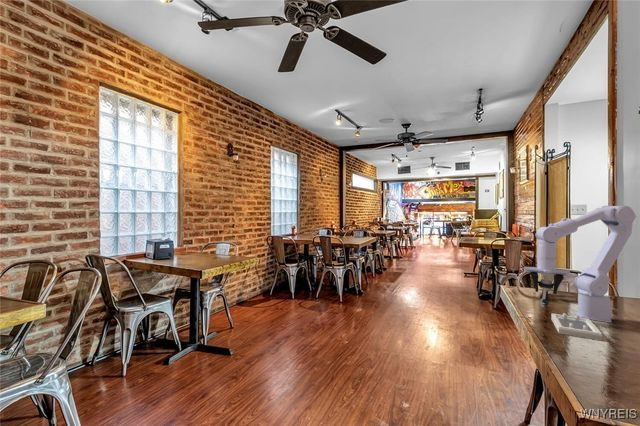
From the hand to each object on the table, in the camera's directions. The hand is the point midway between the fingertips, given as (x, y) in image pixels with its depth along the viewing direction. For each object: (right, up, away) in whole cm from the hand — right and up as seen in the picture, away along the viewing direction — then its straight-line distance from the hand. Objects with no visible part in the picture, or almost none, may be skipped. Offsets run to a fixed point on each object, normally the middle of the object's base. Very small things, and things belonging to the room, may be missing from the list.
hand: (545, 292), depth 126 cm
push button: (0, -6, 0) cm, 6 cm away
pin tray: (0, -9, -15) cm, 17 cm away
